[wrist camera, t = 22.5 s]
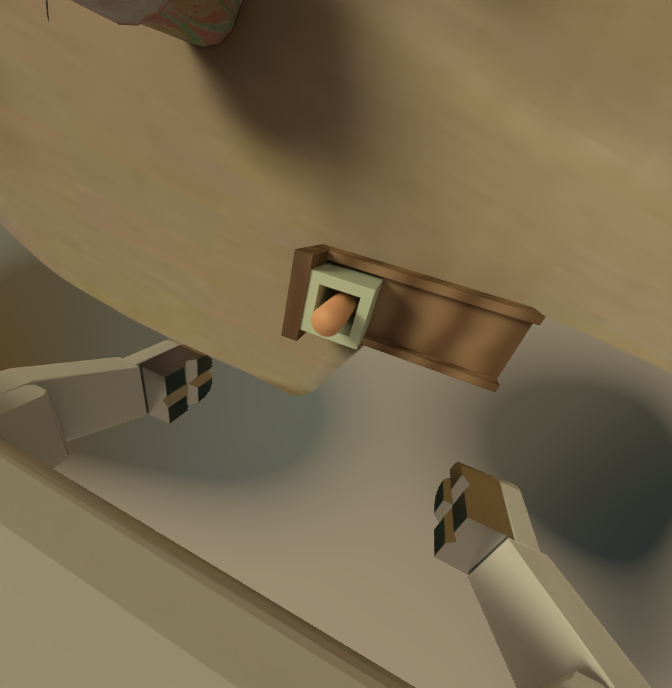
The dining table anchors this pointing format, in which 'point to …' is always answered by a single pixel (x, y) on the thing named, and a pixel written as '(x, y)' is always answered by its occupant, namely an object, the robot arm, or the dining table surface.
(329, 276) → the socket block
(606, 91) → the dining table surface
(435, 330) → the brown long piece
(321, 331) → the dowel
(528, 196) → the dining table surface
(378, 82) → the dining table surface
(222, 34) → the potted plant
